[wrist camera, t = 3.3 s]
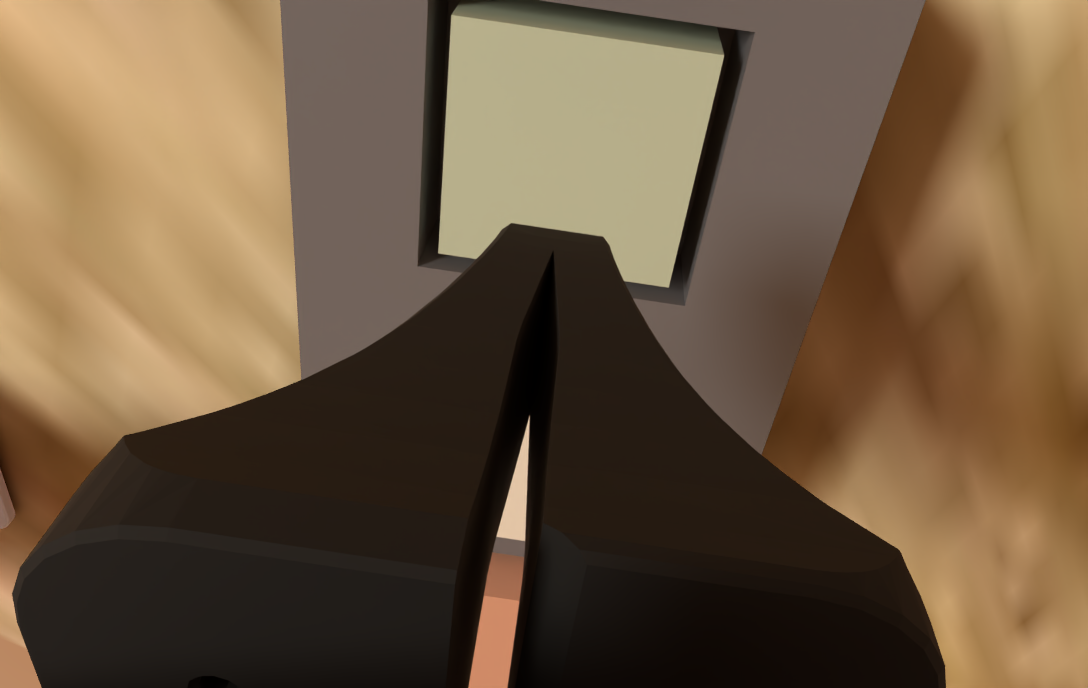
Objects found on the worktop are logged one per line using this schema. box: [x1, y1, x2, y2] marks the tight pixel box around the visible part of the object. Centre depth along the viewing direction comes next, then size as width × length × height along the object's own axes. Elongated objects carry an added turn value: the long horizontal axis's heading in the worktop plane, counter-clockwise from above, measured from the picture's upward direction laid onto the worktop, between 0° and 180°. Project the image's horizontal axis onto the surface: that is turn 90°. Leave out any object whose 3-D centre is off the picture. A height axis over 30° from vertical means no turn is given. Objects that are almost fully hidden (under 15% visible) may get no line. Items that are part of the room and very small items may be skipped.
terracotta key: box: [468, 552, 524, 688], centre depth 23 cm, size 4×4×2 cm
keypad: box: [280, 0, 926, 557], centre depth 20 cm, size 10×20×3 cm, turn 173°
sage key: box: [438, 0, 724, 288], centre depth 16 cm, size 4×4×2 cm
